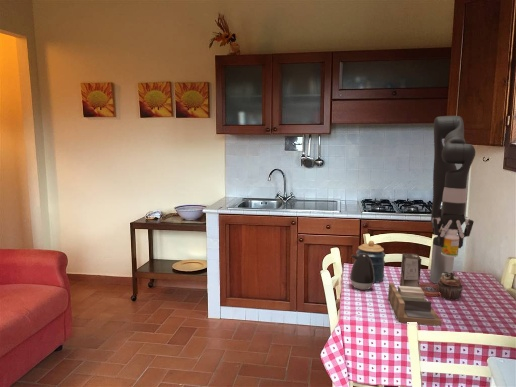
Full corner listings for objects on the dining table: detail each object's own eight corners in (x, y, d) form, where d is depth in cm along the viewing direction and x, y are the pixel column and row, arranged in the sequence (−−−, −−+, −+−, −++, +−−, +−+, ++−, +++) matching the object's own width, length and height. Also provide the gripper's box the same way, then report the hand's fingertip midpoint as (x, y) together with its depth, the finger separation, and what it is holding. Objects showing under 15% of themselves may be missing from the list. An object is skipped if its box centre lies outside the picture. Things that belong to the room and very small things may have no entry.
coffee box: (418, 298, 170) (421, 259, 168) (402, 296, 172) (405, 258, 170) (415, 290, 179) (418, 253, 177) (399, 289, 180) (402, 252, 179)
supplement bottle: (438, 253, 154) (440, 227, 152) (452, 253, 154) (454, 227, 153) (446, 257, 148) (448, 230, 147) (460, 257, 149) (463, 230, 148)
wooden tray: (387, 299, 168) (389, 282, 167) (424, 302, 166) (425, 285, 165) (398, 322, 146) (400, 303, 145) (441, 326, 144) (442, 306, 144)
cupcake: (466, 301, 168) (468, 277, 167) (441, 300, 169) (443, 276, 168) (456, 293, 178) (458, 270, 177) (433, 291, 178) (434, 268, 177)
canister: (353, 273, 201) (355, 236, 199) (381, 275, 199) (383, 238, 197) (356, 281, 188) (358, 243, 186) (385, 284, 187) (388, 245, 184)
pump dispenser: (347, 283, 186) (349, 249, 184) (371, 284, 186) (373, 250, 184) (351, 291, 176) (353, 255, 174) (376, 292, 175) (378, 256, 174)
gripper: (471, 200, 152) (467, 245, 154) (429, 198, 153) (426, 243, 155) (479, 202, 144) (475, 251, 146) (436, 201, 146) (432, 248, 148)
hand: (449, 247), depth 151 cm, fingers closed on supplement bottle, 5 cm apart
